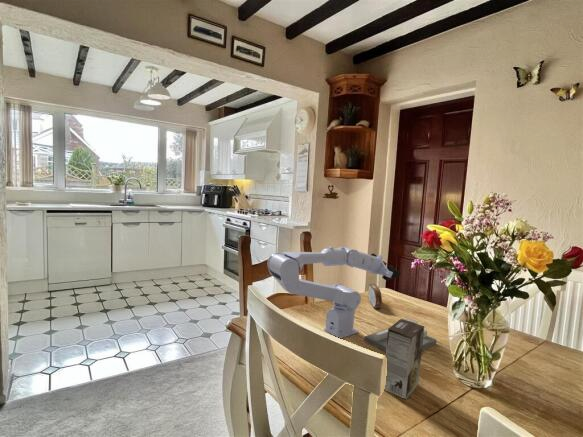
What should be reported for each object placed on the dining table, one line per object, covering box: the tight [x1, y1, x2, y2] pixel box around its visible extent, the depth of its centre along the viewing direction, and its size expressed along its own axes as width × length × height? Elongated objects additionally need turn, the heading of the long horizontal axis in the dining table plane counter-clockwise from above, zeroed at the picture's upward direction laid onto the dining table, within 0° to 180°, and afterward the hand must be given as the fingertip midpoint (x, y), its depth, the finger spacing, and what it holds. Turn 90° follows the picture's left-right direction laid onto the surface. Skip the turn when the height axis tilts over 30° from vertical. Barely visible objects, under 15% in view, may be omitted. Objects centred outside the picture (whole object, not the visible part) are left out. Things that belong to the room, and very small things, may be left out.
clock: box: [368, 283, 383, 309], centre depth 144 cm, size 15×3×8 cm, turn 179°
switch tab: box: [403, 317, 419, 325], centre depth 112 cm, size 5×5×5 cm
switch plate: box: [364, 327, 438, 353], centre depth 110 cm, size 20×14×4 cm
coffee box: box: [384, 318, 425, 400], centre depth 84 cm, size 9×6×16 cm
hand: (391, 270), depth 124 cm, fingers open, 7 cm apart
